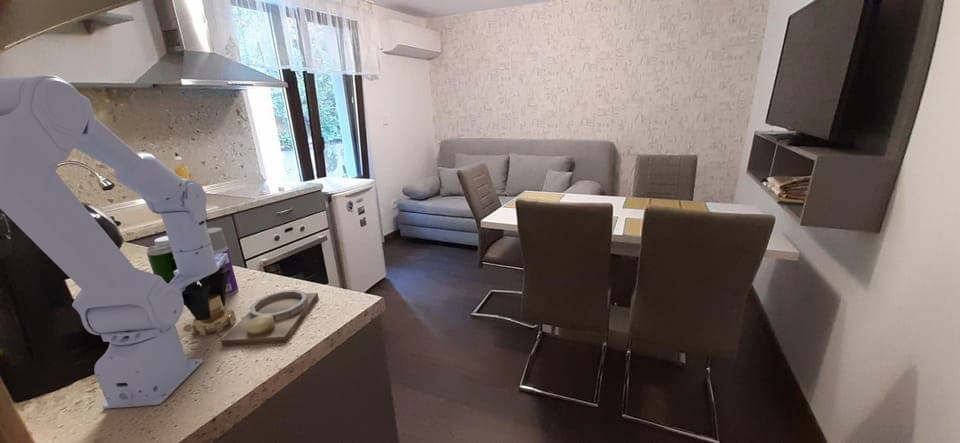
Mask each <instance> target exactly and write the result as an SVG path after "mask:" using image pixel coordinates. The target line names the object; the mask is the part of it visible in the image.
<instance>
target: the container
mask: <svg viewBox="0 0 960 443" xmlns="http://www.w3.org/2000/svg"><path fill="white" fill-rule="evenodd" d="M207 229H208V233H209V236H210V240H211V244H212V247H213V251H214V255H216V254H223V253H227V254H228V258H229V261H230V262H229V263H227V264H223V265H221V268H229V269H230V274H229V277H228V280H227V284H226V292H225V298H226V297H229V296H232V295H234V294H236V293H237V292H238V291H239V286H238V282H237V279H236V275H235V271H234V267H233V266H234V265H233V263H232V259H231V255H230V252H229V248H228V245H227V241H226V239H225V234H224V232H223V228H222V227H209V228H207Z"/></svg>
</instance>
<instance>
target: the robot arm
mask: <svg viewBox="0 0 960 443" xmlns="http://www.w3.org/2000/svg"><path fill="white" fill-rule="evenodd" d="M74 149H75V150H78V151H80V152H81V153H83V154H85V155H87V156H89V157H91V158H92V159H94V160H96V161H98V162H100V163H101V164H104V165H105V166H106V167H109V168H111V169H113V175H114V178H115V180H116V181H117V183H119V184H121V185H123V186H124V187H125V188H127V189H130V190H131V191H133V192H134V193H136V194H137V195H139V196H140V197H141V198H142V200H143V201H145V203H146V205H147V208H148V209H149V211H151V213H153V214H157V215H160V217H161V219H162V223H163V227H164V229H165V232H166V236H168V240H169V243H170V246H171V249H172V253H173V256H174V259H175V262H176V265H177V270H175V271H174V272H173V273H174V275H176V276H175V277H174V278H173V279H172V280H171V282H170V283H169V284H168V283H166V282H165V281H164V279H163V278H162V277H161V276H158V275H155V274H153V272H150V271H145V270H142V269H139V268H136V267H135V265H133V264H132V262H130V260H129V259H128V258H127V256H126V254H125V255H124V253H123V252H122V251H121V249H120V248H119V247H118V246H117V244H116V243H115V242H114V240H112V238H110V236H109V234H108V233H107V232H106V231H105V230H104V229H103V227H101V225H100V223H99V222H97V220H96V219H95V217H93V215H92V214H91V213H90V212H89V211H88V209H87V208H86V206H84V204H83V203H82V202H81V201H80V200H79V198H78V197H77V196H76V195H75V193H74V192H73V191H72V190H71V188H70V187H69V186H68V185H67V184H66V182H64V180H63V179H62V178H61V176H60V175H59V174H58V172H57V168H58V165H59V164H61V163H62V162H65V161H66V160H68V158H69V157H70V156H71V153H72V152H73V150H74ZM207 199H208V196H207V192H206V191H205V189H204V188H203V186H202V185H201V184H200V183H198V182H196V181H194V180H193V179H184V178H182V177H181V176H180V174H179V175H178V174H177V173H176V172H174V171H173V170H172V169H171V168H169V167H168V166H167V165H166V164H164V163H163V162H162V161H161V160H159V159H158V157H157V156H156V155H155V154H153V153H148V152H141V151H140V152H135V150H133V149H132V148H131V147H129V146H128V145H127V144H126V142H124V141H123V140H122V139H121V138H119V137H118V136H117V134H115V132H112V131H111V130H110V128H108V127H107V126H106V125H105V124H104V123H102V122H101V121H100V120H99V119H98V118H96V116H95V114H94V108H93V106H92V103H91V100H90V99H89V98H88V97H87V96H85V95H83V94H82V93H80V92H79V91H78V89H77V88H76V87H75V86H73V85H72V83H70V82H68V81H67V80H66V79H64V78H62V77H59V76H57V75H51V74H40V75H36V76H18V77H17V76H16V77H15V76H14V77H13V76H11V77H0V210H1V211H2V212H4V214H5V215H6V216H8V218H9V219H10V220H11V221H12V222H13V223H15V224H16V226H17V227H18V228H19V229H21V231H22V232H23V233H24V234H25V235H26V236H27V237H29V239H31V241H32V242H34V244H35V245H36V246H37V247H38V248H39V249H40V250H41V251H43V253H44V254H45V255H47V256H48V257H49V259H51V261H52V262H53V263H54V264H55V265H57V266H58V267H59V268H60V269H61V271H63V273H65V274H66V276H67V277H69V279H71V280H72V281H73V283H75V284H76V286H78V288H80V290H79V292H78V293H77V294H76V296H75V297H74V301H73V302H72V305H71V306H72V308H74V309H75V311H77V313H78V314H79V316H80V319H81V323H82V325H83V327H84V329H85V330H86V331H87V332H88V333H90V334H92V335H95V336H100V337H101V339H102V341H103V342H104V343H107V342H109V344H108V348H107V349H106V351H105V353H104V354H103V355H102V356H101V357H100V358H99V359H98V360H97V361H96V362H95V364H94V368H93V369H94V371H93V372H94V375H95V377H96V380H97V382H98V384H99V387H100V390H101V391H102V394H103V396H104V399H105V402H103V404H102V408H103V409H115V408H117V409H118V408H129V407H130V408H131V407H132V408H133V407H144V406H147V407H149V406H158V405H161V404H162V403H163V402H165V400H166V399H167V398H168V397H169V396H170V395H171V394H172V393H174V391H175V390H176V389H177V388H179V386H180V385H182V383H183V382H185V380H186V379H187V378H189V377H190V376H191V375H192V373H193V372H194V371H195V370H196V369H197V368H198V367H199V366H200V365H201V364H202V363H203V362H204V360H203V359H202V358H193V359H187V357H186V354H185V351H184V347H183V344H182V342H181V338H180V335H179V332H178V329H177V326H176V323H177V322H179V320H180V318H181V316H182V314H183V312H184V307H186V308H187V310H188V311H189V312H190V313H191V314H192V315H193V317H194V318H196V320H208V319H209V318H210V309H209V304H208V294H211V293H218V294H220V297H221V301H222V304H223V307H224V306H225V305H226V297H225V292H226V284H227V280H228V277H229V274H230V269H229V268H221V265H223V264H227V263H229V262H230V261H229V258H228V254H227V253H223V254H216V255H214V251H213V247H212V244H211V240H210V236H209V233H208V229H209V228H208V226H207V222H206V219H208V211H207V203H208V202H207V201H208V200H207ZM198 282H199V283H198Z"/></svg>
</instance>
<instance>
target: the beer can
mask: <svg viewBox="0 0 960 443" xmlns="http://www.w3.org/2000/svg"><path fill="white" fill-rule="evenodd" d="M146 251H147V252H146V256H147V258H148V262H149V264H150V267H151V268H150V269H151V271H152V274H155V275H158V276H161V277H162V278H163V279H164V281H165V282H166V283H168V284H169V283H170V282H171V280H172V279H173V278H174V277H175V276H176V275H174V273H173V272H174V271H175V270H177V265H176V262H175V259H174V256H173V253H172V249H171V246H170V243H169V242H168V243H161V244H157V245H155V244H153V245H151V246H149V247H147V248H146Z"/></svg>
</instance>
